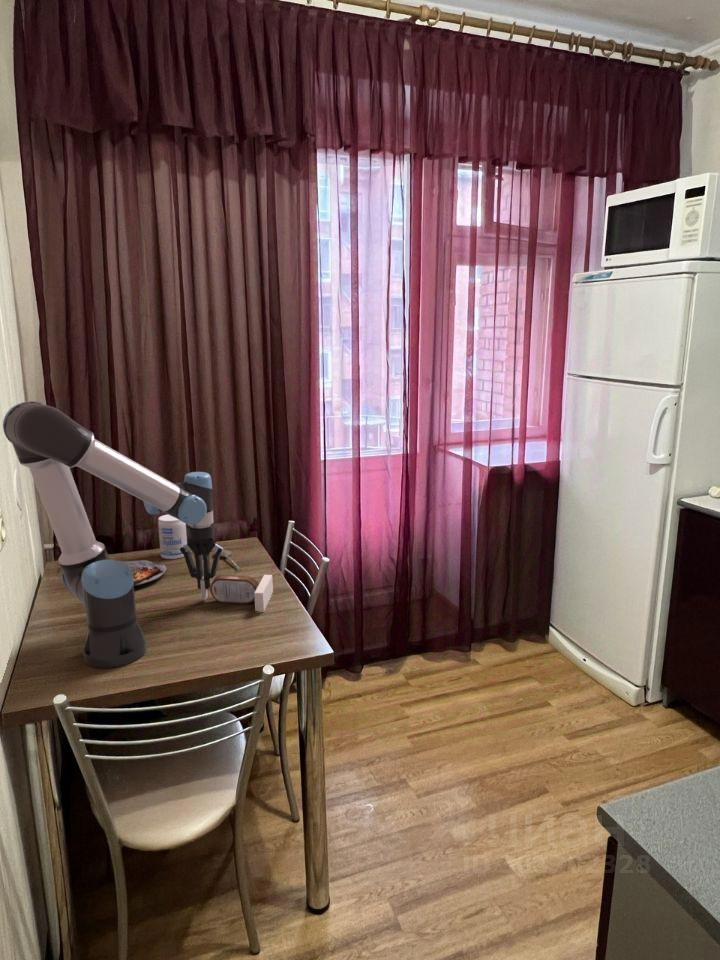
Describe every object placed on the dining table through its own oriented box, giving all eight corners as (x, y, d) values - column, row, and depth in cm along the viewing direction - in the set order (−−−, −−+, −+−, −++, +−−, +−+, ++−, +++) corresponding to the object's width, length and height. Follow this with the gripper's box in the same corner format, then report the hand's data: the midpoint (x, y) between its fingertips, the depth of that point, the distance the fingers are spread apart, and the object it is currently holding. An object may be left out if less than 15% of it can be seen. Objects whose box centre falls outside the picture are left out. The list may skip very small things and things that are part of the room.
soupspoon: (228, 554, 237) (210, 558, 233) (226, 545, 236) (209, 549, 233) (248, 570, 218) (230, 575, 215) (247, 561, 217) (228, 565, 214)
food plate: (181, 574, 214) (180, 564, 213) (122, 599, 195) (121, 588, 195) (134, 562, 228) (132, 553, 227) (75, 584, 209) (73, 574, 208)
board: (263, 612, 184) (262, 593, 183) (255, 612, 184) (254, 593, 183) (273, 592, 198) (272, 574, 196) (265, 592, 198) (264, 574, 197)
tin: (261, 601, 192) (259, 575, 190) (258, 605, 189) (256, 579, 187) (213, 599, 194) (211, 573, 192) (209, 603, 191) (207, 577, 189)
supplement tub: (163, 561, 226) (160, 522, 223) (158, 554, 234) (154, 515, 231) (190, 557, 231) (187, 518, 227) (184, 549, 239) (181, 512, 235)
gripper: (225, 521, 190) (228, 594, 196) (183, 520, 191) (188, 592, 196) (218, 528, 183) (221, 604, 188) (175, 527, 183) (180, 603, 189)
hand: (204, 598), depth 192 cm, fingers closed
